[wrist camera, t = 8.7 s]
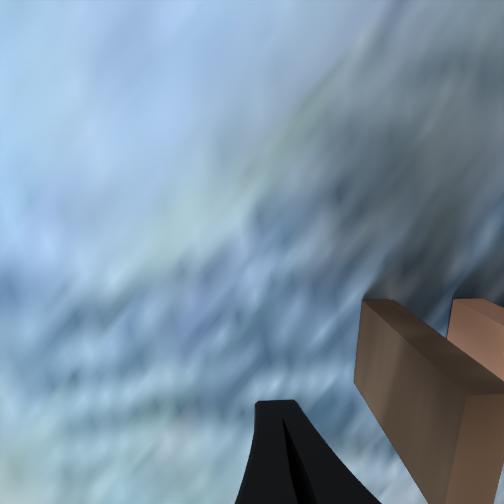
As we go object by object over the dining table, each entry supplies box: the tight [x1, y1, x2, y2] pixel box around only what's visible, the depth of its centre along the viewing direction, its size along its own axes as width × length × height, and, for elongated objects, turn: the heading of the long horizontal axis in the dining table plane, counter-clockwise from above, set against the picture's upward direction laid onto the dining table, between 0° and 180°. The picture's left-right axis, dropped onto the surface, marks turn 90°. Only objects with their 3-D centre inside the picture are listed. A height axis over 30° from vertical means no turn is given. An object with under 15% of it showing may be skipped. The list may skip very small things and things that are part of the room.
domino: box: [354, 300, 504, 504], centre depth 13 cm, size 2×5×7 cm, turn 179°
